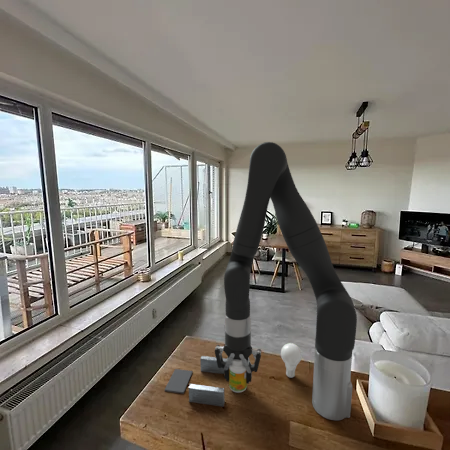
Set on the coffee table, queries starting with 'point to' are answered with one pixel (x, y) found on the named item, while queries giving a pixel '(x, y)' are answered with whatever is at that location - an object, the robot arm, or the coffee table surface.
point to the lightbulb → (291, 358)
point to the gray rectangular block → (178, 381)
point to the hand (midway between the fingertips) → (237, 380)
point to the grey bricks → (206, 392)
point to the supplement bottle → (237, 376)
